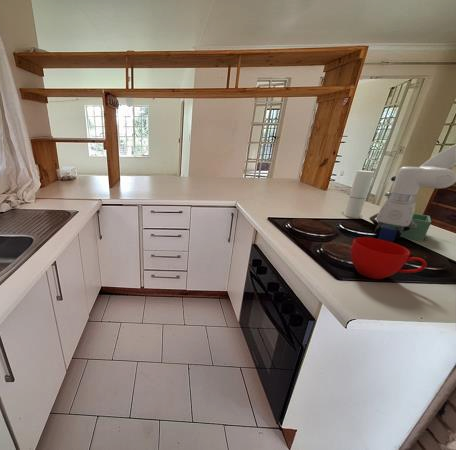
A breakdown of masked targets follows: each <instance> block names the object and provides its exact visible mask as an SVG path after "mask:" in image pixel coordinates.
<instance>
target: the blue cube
mask: <svg viewBox="0 0 456 450" xmlns="http://www.w3.org/2000/svg"><path fill="white" fill-rule="evenodd" d="M397 231H398V228H394V227H389V226H384V225H382V228H381V230H380V233H379V235H378V237H377V239H381V240H385V241H389V242H392V243H394V242H395V241H394V238H395V236H396V233H397Z"/></svg>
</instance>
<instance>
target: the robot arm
mask: <svg viewBox="0 0 456 450" xmlns="http://www.w3.org/2000/svg"><path fill="white" fill-rule="evenodd" d="M454 166H456V143H455V144H453V145H452V146H449V147H448V148H446V149H443V150H441V151H440V152H438V153H436V154H435V155H433V156H431V158H429V159H427V160H426V161H424V163H422V164H421V165H420V166H401V167H400V168H399V169H398V171H397V174H396V175H395V176H396V179H395V181H393V185H392V188H391V190H390V192H385V193H384V197H387V198H385V199H384V201H383V203H382V204H381V206H380V208H379V211H378V212H377V213H375V214H374V215H372V216H369V220H370V221H371V222H372V224H373V225H374V226H375V229H376V227H377V229H376V231H375V230H374V235H375V237H376V238H378V236H379V233H380V230H381V226H382V224H383V223H386V224H391V225H396V226H399V230H398V231H397V233H396V236H395V238H394V241H393V242H397V240H400V238H401V237H400V235H401V233H403V232H405V231H407V230H410V229H413V228H416V227H417V225H416V224H415V222H414V221H413V219H412V217H413V214H415V210H416V204H417V203H416V202H415V199H416V197H417V194H418V191H419V190H420V187H424V188H425V187H426V188H432V189H445V188H449V187H451V186H452V185H455V183H456V172H455V171H454V170H452V169H451V168H452V167H454ZM378 222H379V223H378ZM409 224H411V226H408V225H409ZM406 226H407V227H406ZM403 227H404V228H403Z"/></svg>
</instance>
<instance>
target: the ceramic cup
mask: <svg viewBox="0 0 456 450" xmlns="http://www.w3.org/2000/svg"><path fill="white" fill-rule="evenodd" d="M410 255H411V251H410V250H409V249H408V248H406V247H405V246H402V245H400V244H398V243H394V242H391V241H387V240H383V239H378V238H375V237H368V236H367V237H366V236H365V237H364V236H361V237H355V238H354V239H353V241H352V244H351V249H350V259H351V262H352V265H353V267H354V269H355V270H356V272H357V273H359V274H360V275H362V276H364V277H366V278H370V279H374V280H383V279H385V278H388V277H391V276H393V275H395V274H396V273H403V274H404V273H406V274H407V273H408V274H409V273H411V274H412V273H413V274H414V273H418V272H421V271H423V270H425V269H426V268H427V261H426V260H425V259H423V258H421V257H416V256H411V257H410ZM411 261H418V262H421V263H422V265H421V266H420V267H418V268H413V269H403V266H404V265H406V264H407V263H408V262H411Z"/></svg>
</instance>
